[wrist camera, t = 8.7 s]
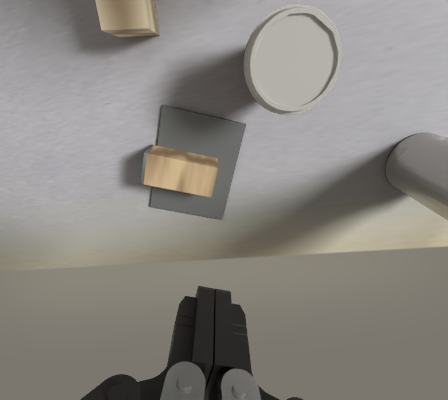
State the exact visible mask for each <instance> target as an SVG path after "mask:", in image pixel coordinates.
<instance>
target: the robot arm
mask: <svg viewBox="0 0 448 400" xmlns="http://www.w3.org/2000/svg"><path fill="white" fill-rule="evenodd" d="M385 169H386V176H387V179H388V181H389V182H390V183H391V184H392V185H393V186H394V187H396V188H397V189H399V190H401V191H402V192H404V193H405V194H407V195H409V196H410V197H412V198H413V199H415V200H416V201H418V202H420V203H421V204H423V205H424V206H426V207H427V208H429V209H431V210H432V211H434V212H435V213H437V214H439V215H440V216H442V217H443V218H445V219H447V220H448V138H445V137H441V136H438V135H434V134H430V133H420V134H415V135H412V136H410V137H408V138H406V139H405V140H403V141H402V142H400V143H399V144H398V145H397V146H396V147H395V148H394V149H393V151H392V152H391V154H390V155H389V157H388V160H387V163H386V168H385ZM81 400H279V399H277V398H275V397H273V396H271V395H269V394H268V393H266V392H264V391H263V390H262V389H261V388H260V387H259V386H258V384H257V382H256V380H255V379H254V377H253V375H252V371H251V364H250V354H249V345H248V337H247V328H246V318H245V314H244V312H243V310H242V308H241V306H240V305H237V304H231V292H230V291H225V290H219V289H213V288H207V287H202V286H198V289H197V293H196V297H189V296H185V297H184V299H183V300H182V301H181V303H180V304H179V308H178V312H177V316H176V321H175V325H174V330H173V336H172V342H171V348H170V353H169V358H168V364H167V367H166V369H165V370H164V371H163V372H162V373H161V374H160V375H158V376H156V377H155V378H152V379H149V380H144V381H140V382H137V381H136V380H135V379H134V378H133V377H131V376H128V375H124V374H120V375H115V376H112V377H110V378H108V379H106V380H105V381H104V382H102V383H101V384H100V385H99V386H97V387H96V388H95V389H94V390H92V391H91V392H90V393H88V394H87V395H86V396H85V397H83V398H82V399H81ZM287 400H303V399H301V398H297V397H292V398H289V399H287Z"/></svg>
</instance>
